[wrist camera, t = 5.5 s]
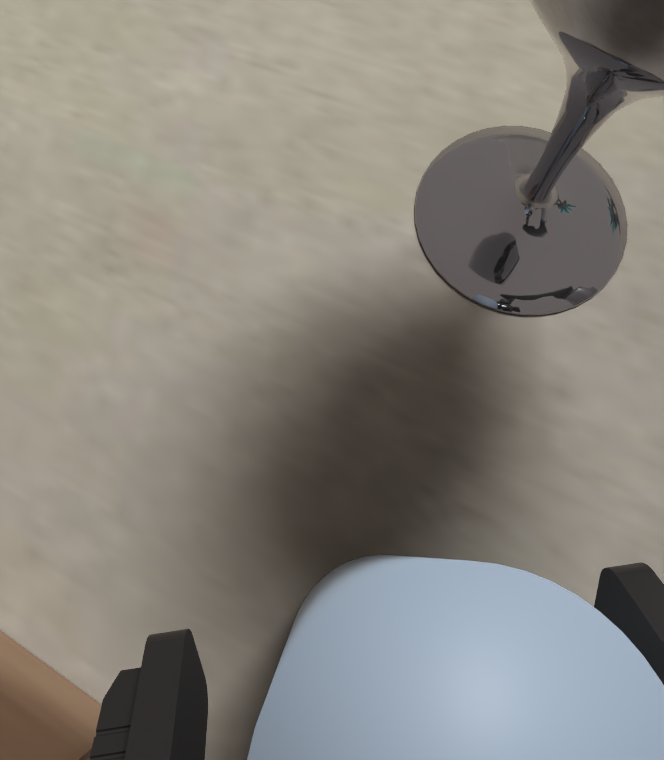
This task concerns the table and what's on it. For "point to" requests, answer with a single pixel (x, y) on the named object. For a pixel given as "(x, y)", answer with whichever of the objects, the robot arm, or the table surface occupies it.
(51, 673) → the walnut base
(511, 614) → the blue-grey cylinder
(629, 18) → the wine glass
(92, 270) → the table surface
